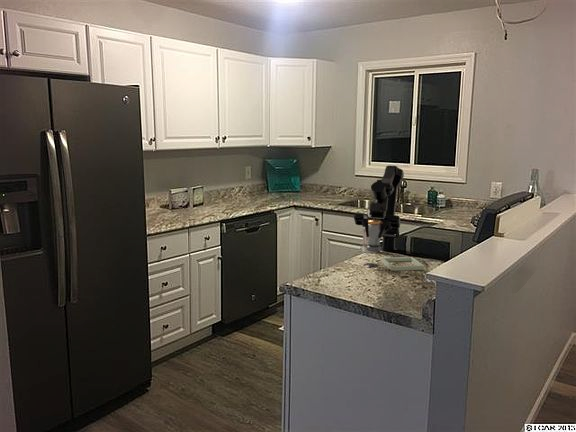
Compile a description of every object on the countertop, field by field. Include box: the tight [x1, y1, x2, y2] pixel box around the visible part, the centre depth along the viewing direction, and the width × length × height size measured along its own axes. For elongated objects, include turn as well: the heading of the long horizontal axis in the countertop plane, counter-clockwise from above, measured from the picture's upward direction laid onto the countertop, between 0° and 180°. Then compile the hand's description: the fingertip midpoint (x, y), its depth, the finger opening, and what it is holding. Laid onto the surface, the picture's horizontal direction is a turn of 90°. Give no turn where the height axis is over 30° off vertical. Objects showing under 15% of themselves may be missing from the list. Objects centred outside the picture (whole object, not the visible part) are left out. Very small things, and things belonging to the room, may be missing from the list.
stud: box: [363, 262, 379, 269], centre depth 193 cm, size 6×6×1 cm
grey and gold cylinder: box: [367, 219, 382, 253], centre depth 191 cm, size 6×6×12 cm
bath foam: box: [362, 209, 377, 254], centre depth 217 cm, size 7×7×20 cm
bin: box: [380, 256, 425, 271], centre depth 193 cm, size 14×14×2 cm
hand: (373, 237), depth 189 cm, fingers closed on grey and gold cylinder, 5 cm apart
